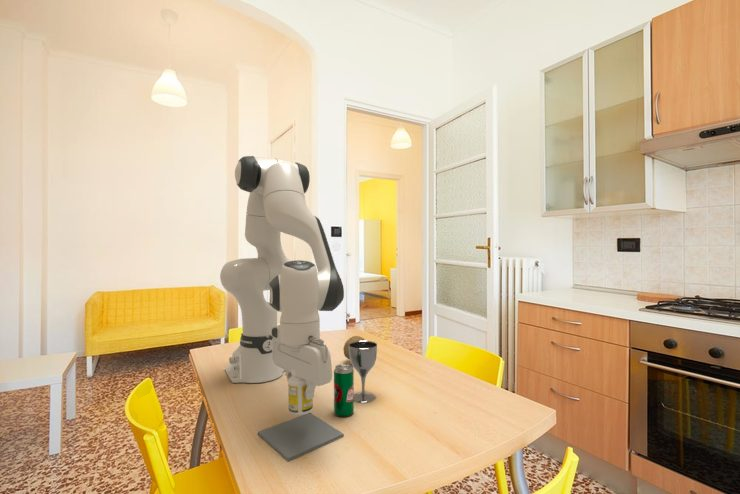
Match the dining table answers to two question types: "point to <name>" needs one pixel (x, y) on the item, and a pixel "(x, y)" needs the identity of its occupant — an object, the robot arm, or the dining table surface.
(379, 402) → the dining table surface
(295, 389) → the supplement bottle
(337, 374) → the soda can
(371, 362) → the wine glass
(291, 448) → the mat
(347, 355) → the natural sponge
